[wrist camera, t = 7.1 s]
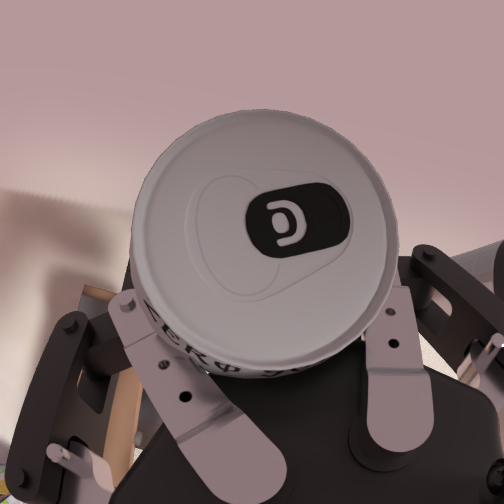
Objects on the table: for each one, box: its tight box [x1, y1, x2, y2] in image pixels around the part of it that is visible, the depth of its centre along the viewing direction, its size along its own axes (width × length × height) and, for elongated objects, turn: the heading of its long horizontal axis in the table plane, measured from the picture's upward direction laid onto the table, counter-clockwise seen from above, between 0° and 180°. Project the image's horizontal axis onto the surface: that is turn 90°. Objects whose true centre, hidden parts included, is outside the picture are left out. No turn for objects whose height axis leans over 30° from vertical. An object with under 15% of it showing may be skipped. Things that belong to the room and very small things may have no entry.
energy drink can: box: [129, 109, 399, 379], centre depth 12 cm, size 6×6×15 cm
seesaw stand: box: [135, 387, 163, 450], centre depth 27 cm, size 12×10×6 cm
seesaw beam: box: [77, 285, 143, 488], centre depth 22 cm, size 9×28×4 cm, turn 169°
